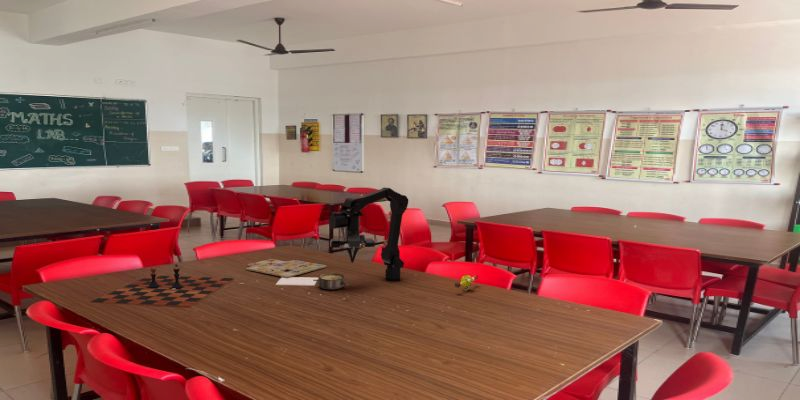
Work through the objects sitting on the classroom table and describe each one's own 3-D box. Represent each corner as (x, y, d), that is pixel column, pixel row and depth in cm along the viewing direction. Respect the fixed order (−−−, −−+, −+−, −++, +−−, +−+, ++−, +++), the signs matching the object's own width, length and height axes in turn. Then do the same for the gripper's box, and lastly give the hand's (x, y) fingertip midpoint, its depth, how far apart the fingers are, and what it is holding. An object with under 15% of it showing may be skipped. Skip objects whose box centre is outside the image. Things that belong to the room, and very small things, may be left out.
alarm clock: (326, 271, 228) (357, 275, 220) (327, 283, 229) (357, 287, 221) (311, 277, 219) (342, 280, 211) (311, 289, 219) (342, 293, 211)
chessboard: (234, 280, 231) (233, 256, 229) (189, 308, 191) (188, 280, 190) (150, 277, 234) (149, 254, 233) (89, 304, 195) (88, 276, 194)
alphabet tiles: (327, 267, 256) (327, 264, 255) (287, 278, 232) (287, 275, 232) (279, 258, 273) (279, 256, 273) (237, 268, 250) (237, 265, 250)
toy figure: (462, 296, 212) (462, 280, 211) (450, 294, 215) (451, 278, 214) (482, 287, 226) (483, 272, 225) (471, 285, 229) (472, 270, 228)
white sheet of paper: (318, 278, 235) (318, 277, 235) (314, 285, 223) (314, 284, 223) (281, 277, 235) (281, 277, 235) (275, 285, 223) (275, 284, 223)
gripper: (332, 230, 209) (332, 267, 211) (377, 229, 213) (376, 266, 215) (330, 226, 220) (329, 261, 222) (372, 225, 224) (372, 260, 226)
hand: (352, 262), depth 221 cm, fingers closed
